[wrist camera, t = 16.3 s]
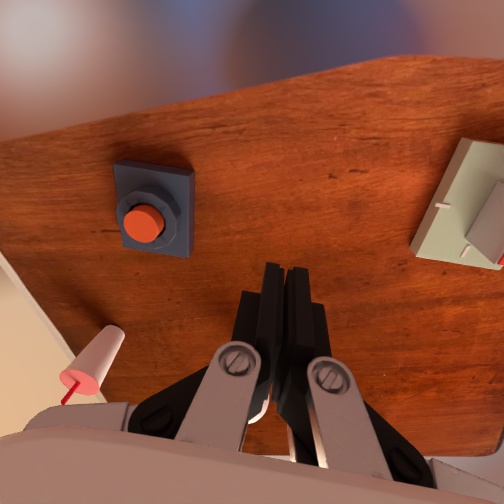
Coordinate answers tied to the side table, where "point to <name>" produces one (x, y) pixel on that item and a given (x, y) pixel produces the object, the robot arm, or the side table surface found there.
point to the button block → (157, 204)
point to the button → (144, 223)
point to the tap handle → (490, 227)
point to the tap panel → (460, 204)
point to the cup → (92, 363)
